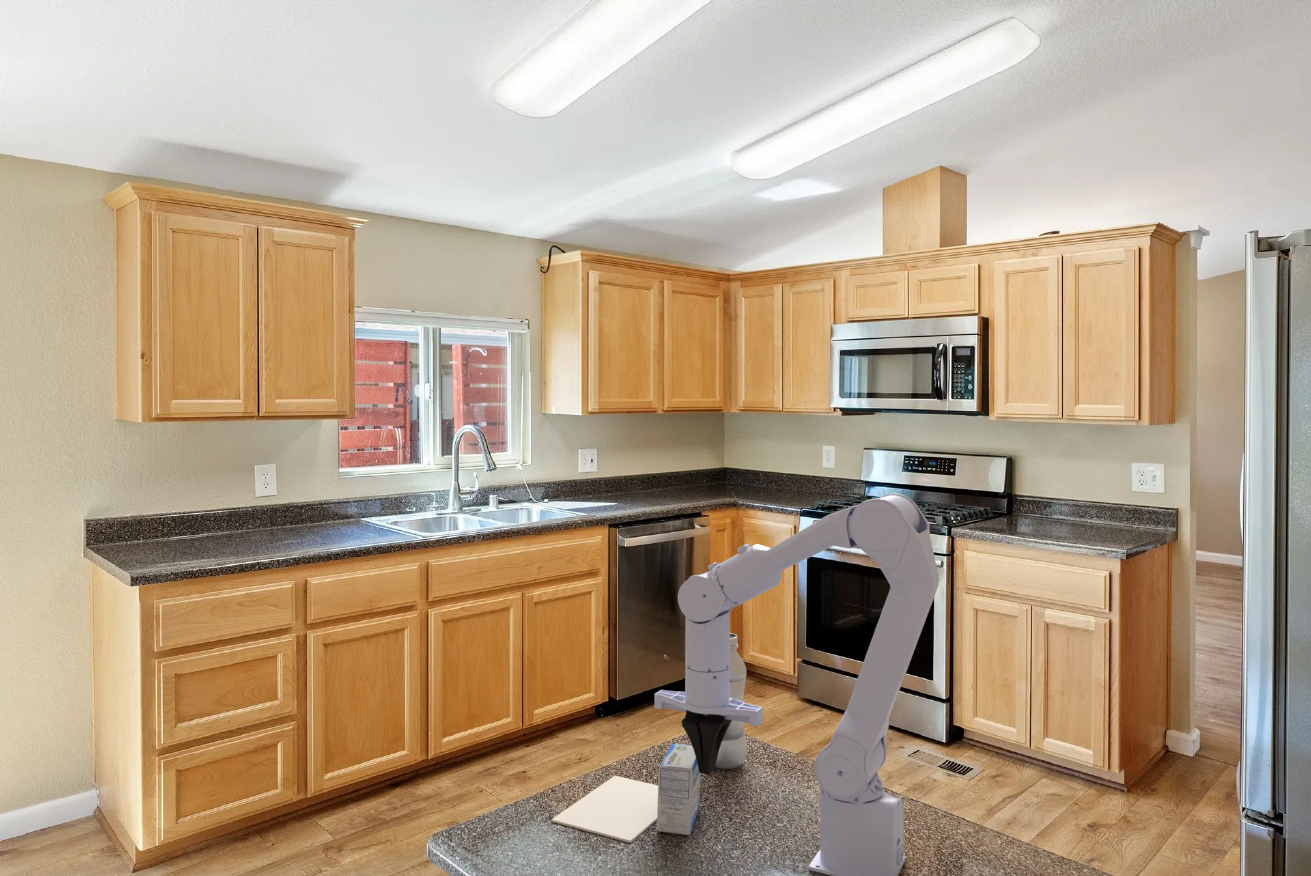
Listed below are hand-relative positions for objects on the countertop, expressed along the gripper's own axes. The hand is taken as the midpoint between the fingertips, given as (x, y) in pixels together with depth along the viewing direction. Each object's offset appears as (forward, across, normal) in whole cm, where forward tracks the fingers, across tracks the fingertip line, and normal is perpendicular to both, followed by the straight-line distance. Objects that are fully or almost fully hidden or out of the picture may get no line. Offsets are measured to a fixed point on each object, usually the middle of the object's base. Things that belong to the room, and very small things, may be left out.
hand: (707, 771), depth 109 cm
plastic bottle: (+8, +6, -20) cm, 22 cm away
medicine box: (+8, +4, 0) cm, 9 cm away
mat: (+8, +13, 0) cm, 15 cm away
